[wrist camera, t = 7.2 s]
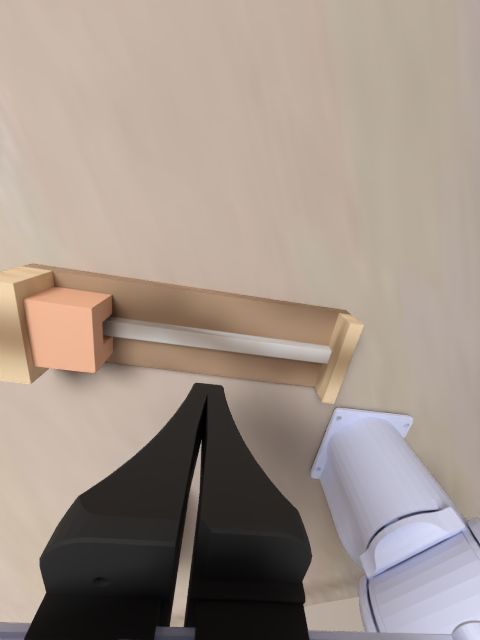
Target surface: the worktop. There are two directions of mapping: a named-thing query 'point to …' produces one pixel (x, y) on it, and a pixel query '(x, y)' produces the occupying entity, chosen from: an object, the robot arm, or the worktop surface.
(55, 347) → the block
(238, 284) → the worktop surface
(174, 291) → the rail board
